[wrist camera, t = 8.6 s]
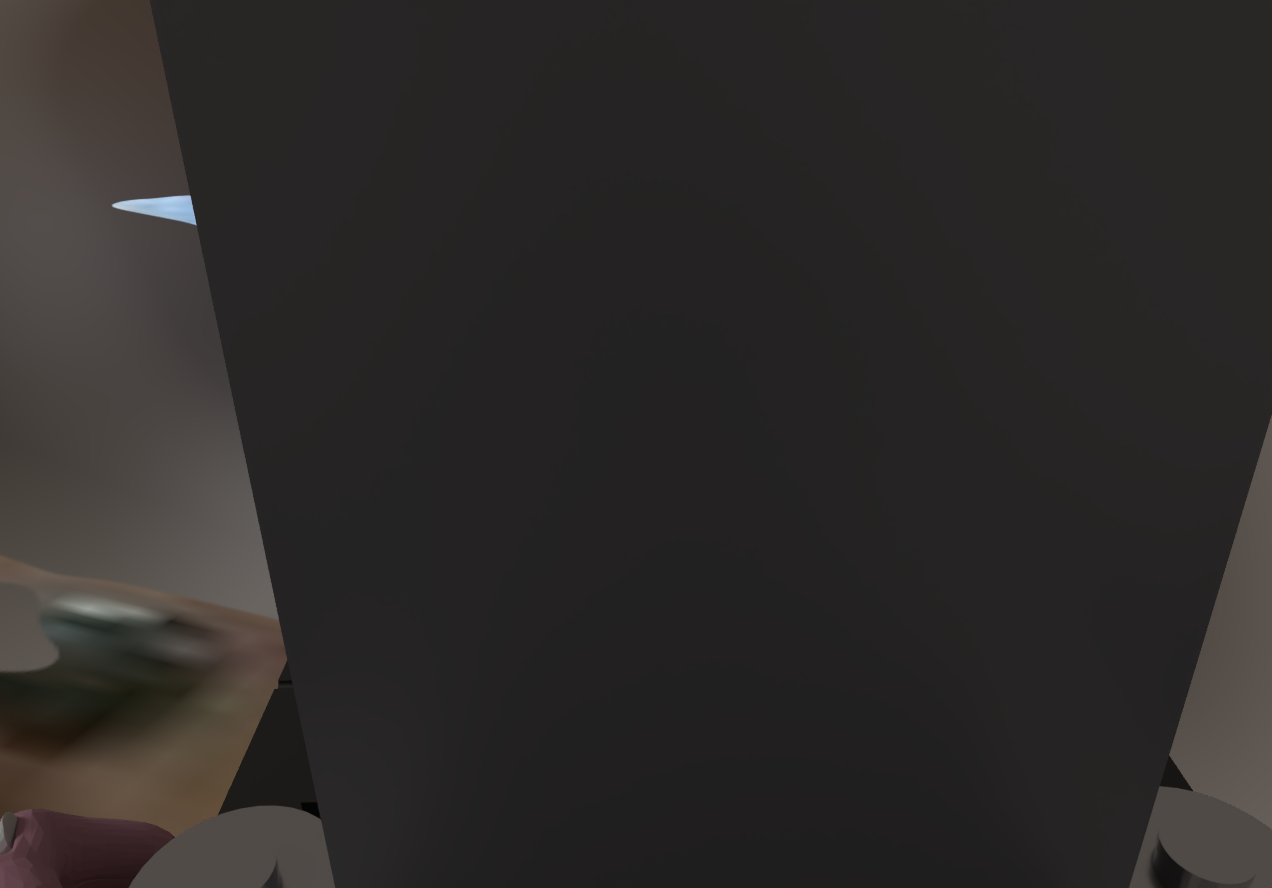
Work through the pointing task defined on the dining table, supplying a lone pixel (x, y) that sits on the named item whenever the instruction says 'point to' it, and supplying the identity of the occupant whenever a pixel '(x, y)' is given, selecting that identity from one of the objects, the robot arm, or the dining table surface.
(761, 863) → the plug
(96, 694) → the dining table surface
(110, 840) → the video game controller
